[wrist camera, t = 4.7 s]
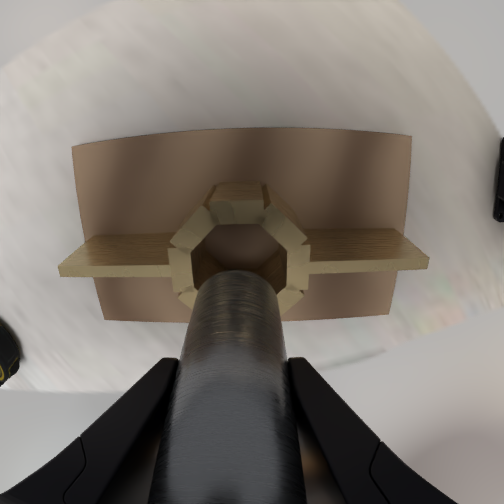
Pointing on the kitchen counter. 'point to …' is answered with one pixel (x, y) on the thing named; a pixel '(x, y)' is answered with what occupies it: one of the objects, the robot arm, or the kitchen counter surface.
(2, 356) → the tape measure
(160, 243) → the brass hinge
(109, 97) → the kitchen counter surface
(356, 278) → the walnut board
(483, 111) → the kitchen counter surface
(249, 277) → the hinge pin
